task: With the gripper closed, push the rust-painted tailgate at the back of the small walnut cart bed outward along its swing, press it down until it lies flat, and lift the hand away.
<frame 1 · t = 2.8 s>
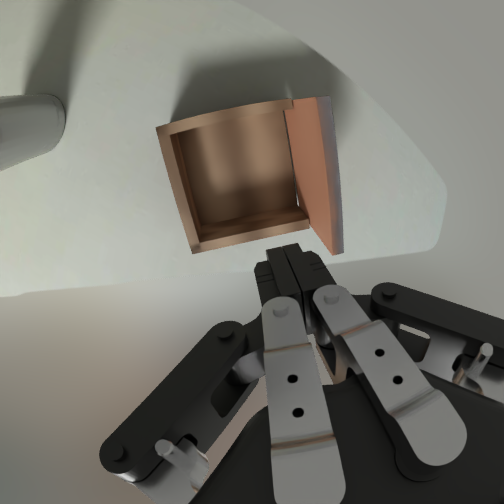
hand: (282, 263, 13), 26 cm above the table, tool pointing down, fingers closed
tailgate: (312, 166, 28), point 9 cm above the table, hinge at 0.0°
cart bed: (233, 164, 35), on the table
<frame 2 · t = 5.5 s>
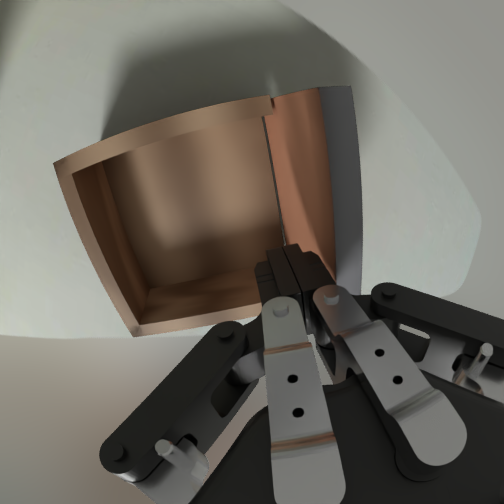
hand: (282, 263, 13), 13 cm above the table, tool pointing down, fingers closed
tailgate: (308, 218, 16), point 9 cm above the table, hinge at 0.9°, touching gripper
cart bed: (192, 200, 24), on the table
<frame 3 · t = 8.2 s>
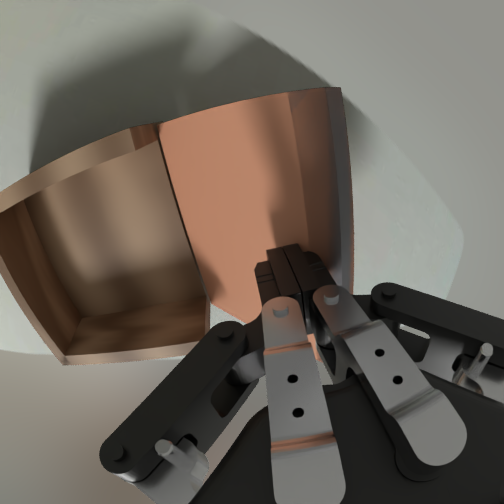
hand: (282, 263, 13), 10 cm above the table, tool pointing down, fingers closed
tailgate: (250, 236, 16), point 7 cm above the table, hinge at 40.1°, touching gripper
cart bed: (112, 231, 22), on the table
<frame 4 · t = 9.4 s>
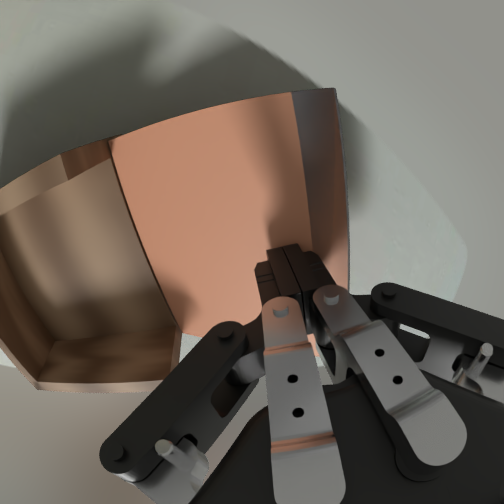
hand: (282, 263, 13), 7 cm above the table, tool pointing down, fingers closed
tailgate: (232, 249, 15), point 5 cm above the table, hinge at 62.6°, touching gripper
cart bed: (78, 253, 19), on the table
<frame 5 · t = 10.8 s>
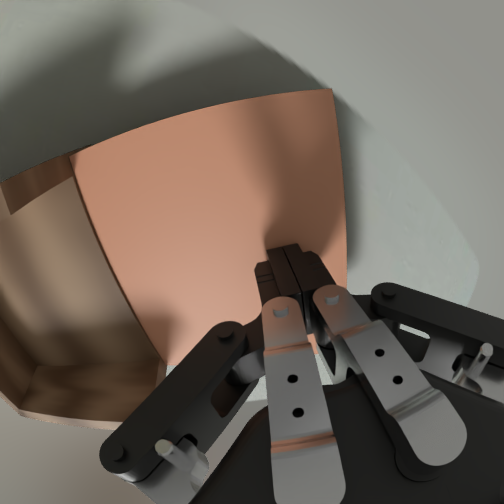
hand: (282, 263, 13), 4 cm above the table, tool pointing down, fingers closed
tailgate: (222, 262, 14), point 3 cm above the table, hinge at 81.7°, touching gripper
cart bed: (54, 277, 16), on the table
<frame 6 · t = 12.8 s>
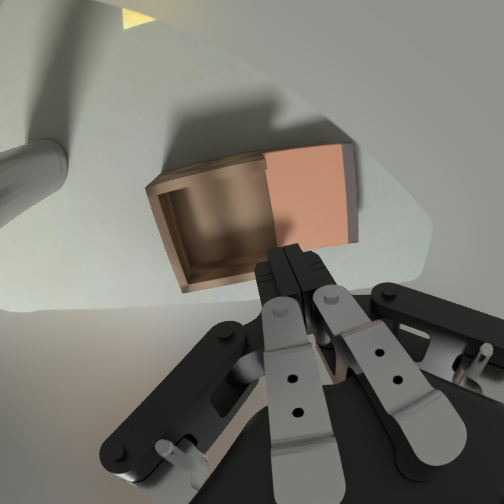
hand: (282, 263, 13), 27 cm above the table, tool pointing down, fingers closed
tailgate: (314, 199, 37), point 3 cm above the table, hinge at 81.9°
cart bed: (220, 210, 40), on the table
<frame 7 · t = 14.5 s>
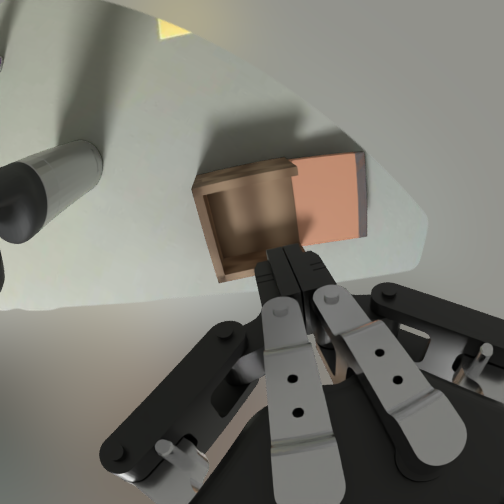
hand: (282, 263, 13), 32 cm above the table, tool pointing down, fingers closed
tailgate: (331, 199, 43), point 3 cm above the table, hinge at 81.9°
cart bed: (249, 209, 45), on the table
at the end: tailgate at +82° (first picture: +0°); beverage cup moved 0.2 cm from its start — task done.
